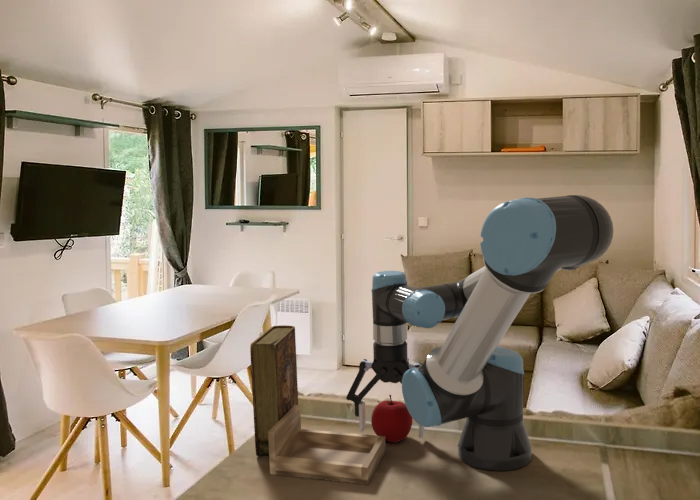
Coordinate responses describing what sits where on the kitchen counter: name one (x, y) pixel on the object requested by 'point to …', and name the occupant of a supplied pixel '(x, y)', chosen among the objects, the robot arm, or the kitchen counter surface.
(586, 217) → the robot arm
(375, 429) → the apple
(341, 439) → the tray
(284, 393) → the book
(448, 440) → the kitchen counter surface
